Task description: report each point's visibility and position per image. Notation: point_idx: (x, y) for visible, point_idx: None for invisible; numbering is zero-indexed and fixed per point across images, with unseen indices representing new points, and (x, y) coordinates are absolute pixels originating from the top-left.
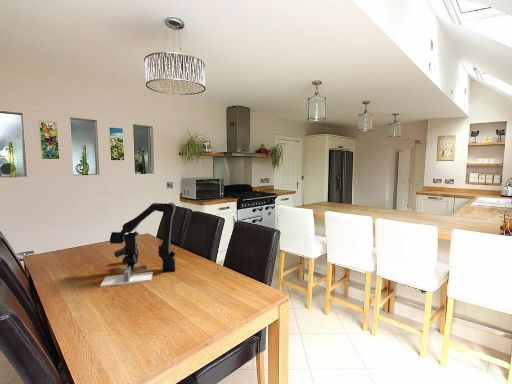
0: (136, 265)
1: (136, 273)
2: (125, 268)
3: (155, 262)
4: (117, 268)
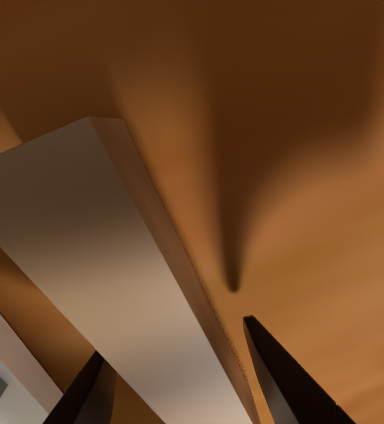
0: (231, 409)
1: (44, 412)
2: (95, 333)
3: (372, 401)
4: (82, 161)
